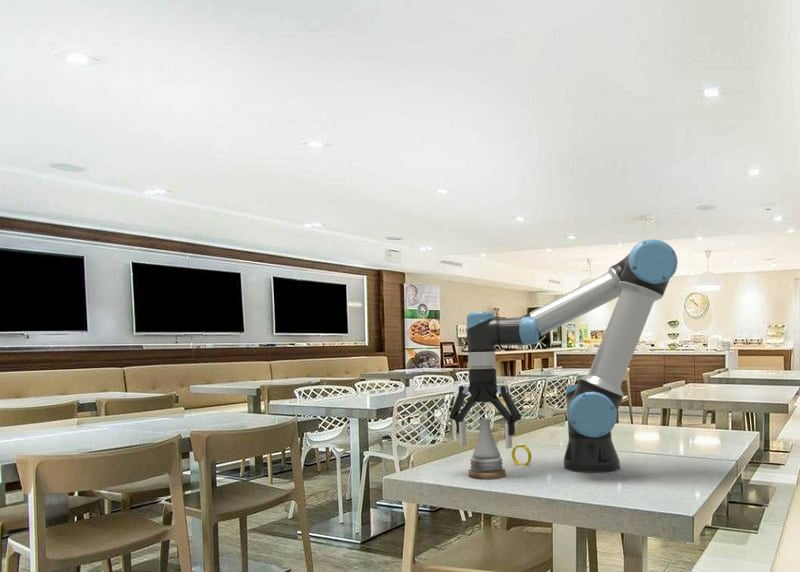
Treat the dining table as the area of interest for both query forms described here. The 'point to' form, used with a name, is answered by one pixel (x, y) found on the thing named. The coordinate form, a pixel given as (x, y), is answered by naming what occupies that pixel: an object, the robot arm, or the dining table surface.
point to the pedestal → (486, 468)
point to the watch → (527, 452)
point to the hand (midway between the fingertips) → (485, 446)
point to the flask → (485, 442)
